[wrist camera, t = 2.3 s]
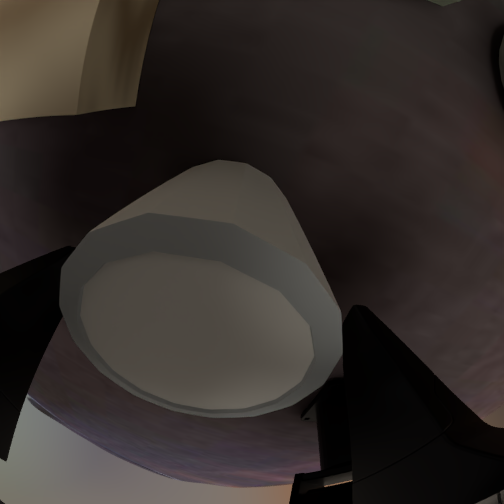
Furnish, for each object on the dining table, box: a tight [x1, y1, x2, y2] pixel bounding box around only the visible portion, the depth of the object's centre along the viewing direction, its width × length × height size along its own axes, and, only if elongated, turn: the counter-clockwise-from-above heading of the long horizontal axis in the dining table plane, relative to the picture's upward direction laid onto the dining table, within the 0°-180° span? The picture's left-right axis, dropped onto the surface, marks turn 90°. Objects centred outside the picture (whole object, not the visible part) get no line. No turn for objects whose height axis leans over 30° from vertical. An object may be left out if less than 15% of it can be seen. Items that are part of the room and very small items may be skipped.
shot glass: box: [59, 160, 343, 418], centre depth 9 cm, size 7×7×7 cm
